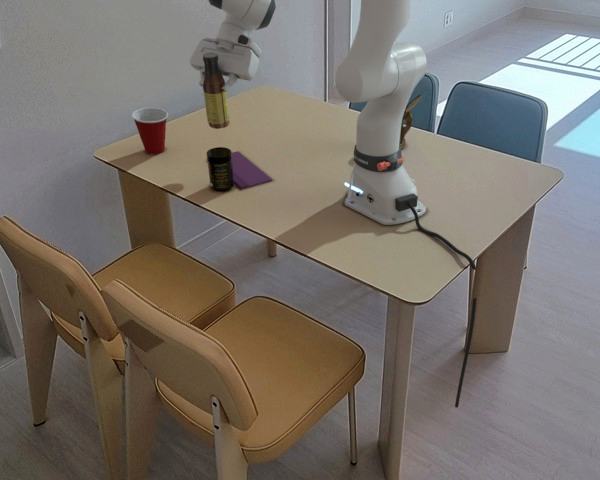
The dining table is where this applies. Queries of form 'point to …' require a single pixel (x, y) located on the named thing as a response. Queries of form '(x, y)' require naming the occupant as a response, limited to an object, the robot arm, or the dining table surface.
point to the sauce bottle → (214, 93)
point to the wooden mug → (408, 118)
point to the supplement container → (220, 169)
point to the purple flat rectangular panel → (246, 172)
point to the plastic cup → (151, 128)
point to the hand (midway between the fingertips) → (213, 88)
